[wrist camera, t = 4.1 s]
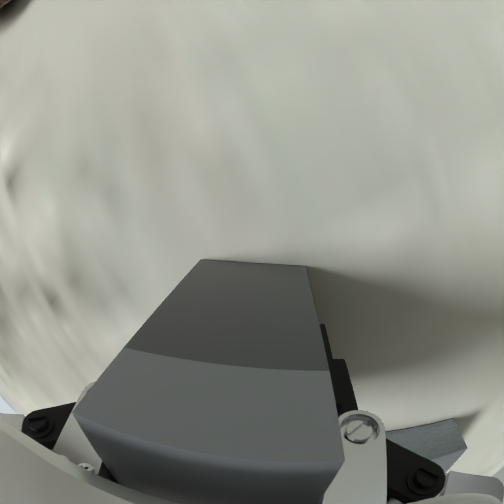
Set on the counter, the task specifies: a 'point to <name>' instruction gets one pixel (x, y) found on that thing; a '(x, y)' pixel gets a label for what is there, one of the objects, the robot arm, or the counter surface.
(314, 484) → the plug
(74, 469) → the robot arm
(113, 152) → the counter surface
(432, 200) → the counter surface
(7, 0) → the stone
